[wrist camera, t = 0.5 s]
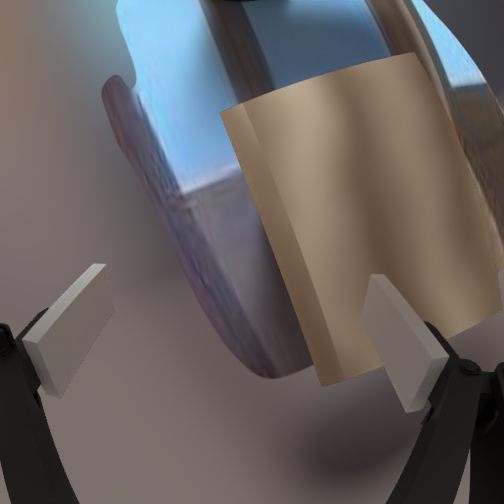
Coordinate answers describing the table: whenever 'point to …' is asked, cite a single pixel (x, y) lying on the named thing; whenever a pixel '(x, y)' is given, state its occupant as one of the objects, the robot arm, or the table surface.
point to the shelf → (366, 204)
